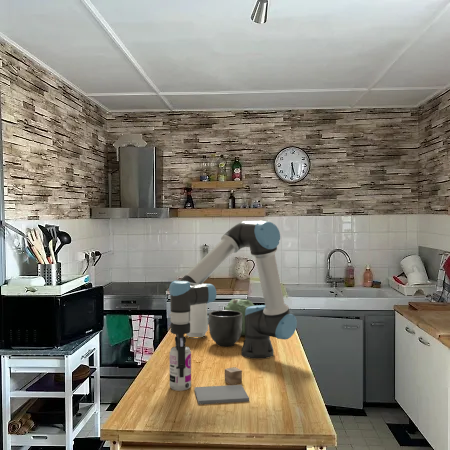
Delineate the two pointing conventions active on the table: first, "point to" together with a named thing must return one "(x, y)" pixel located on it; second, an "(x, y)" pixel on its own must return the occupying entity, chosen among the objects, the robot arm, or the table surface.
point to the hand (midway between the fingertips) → (180, 380)
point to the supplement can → (175, 371)
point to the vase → (198, 320)
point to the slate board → (221, 394)
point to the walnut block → (233, 376)
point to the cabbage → (239, 309)
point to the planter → (225, 327)
